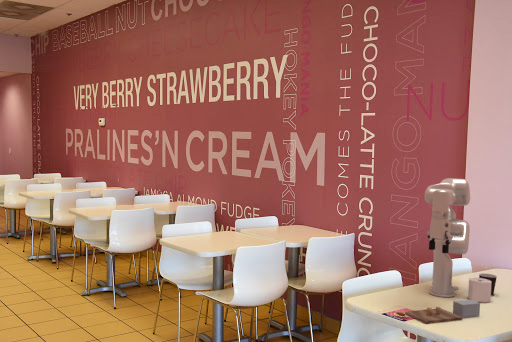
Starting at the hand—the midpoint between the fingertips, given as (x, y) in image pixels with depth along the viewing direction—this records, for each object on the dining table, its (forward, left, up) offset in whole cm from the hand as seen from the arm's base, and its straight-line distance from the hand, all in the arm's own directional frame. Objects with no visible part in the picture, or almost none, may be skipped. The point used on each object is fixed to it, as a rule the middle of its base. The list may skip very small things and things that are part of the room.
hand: (438, 251), depth 251 cm
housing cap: (-5, +14, -27) cm, 31 cm away
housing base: (+12, +12, -27) cm, 32 cm away
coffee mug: (-45, -13, -27) cm, 54 cm away
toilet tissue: (-31, -4, -27) cm, 42 cm away
